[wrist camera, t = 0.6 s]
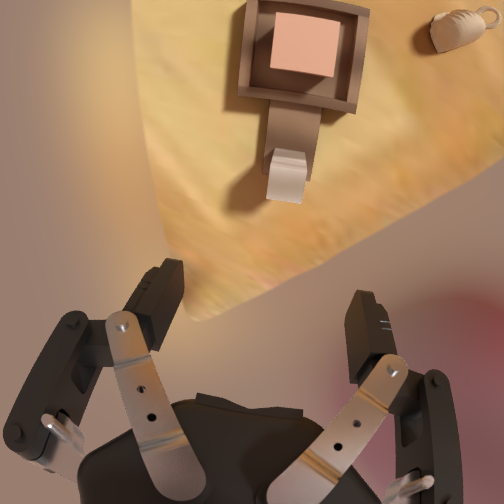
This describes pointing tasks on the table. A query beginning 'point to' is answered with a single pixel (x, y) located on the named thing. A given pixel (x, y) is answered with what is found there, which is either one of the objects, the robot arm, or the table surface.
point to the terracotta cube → (305, 44)
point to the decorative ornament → (459, 28)
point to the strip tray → (299, 87)
